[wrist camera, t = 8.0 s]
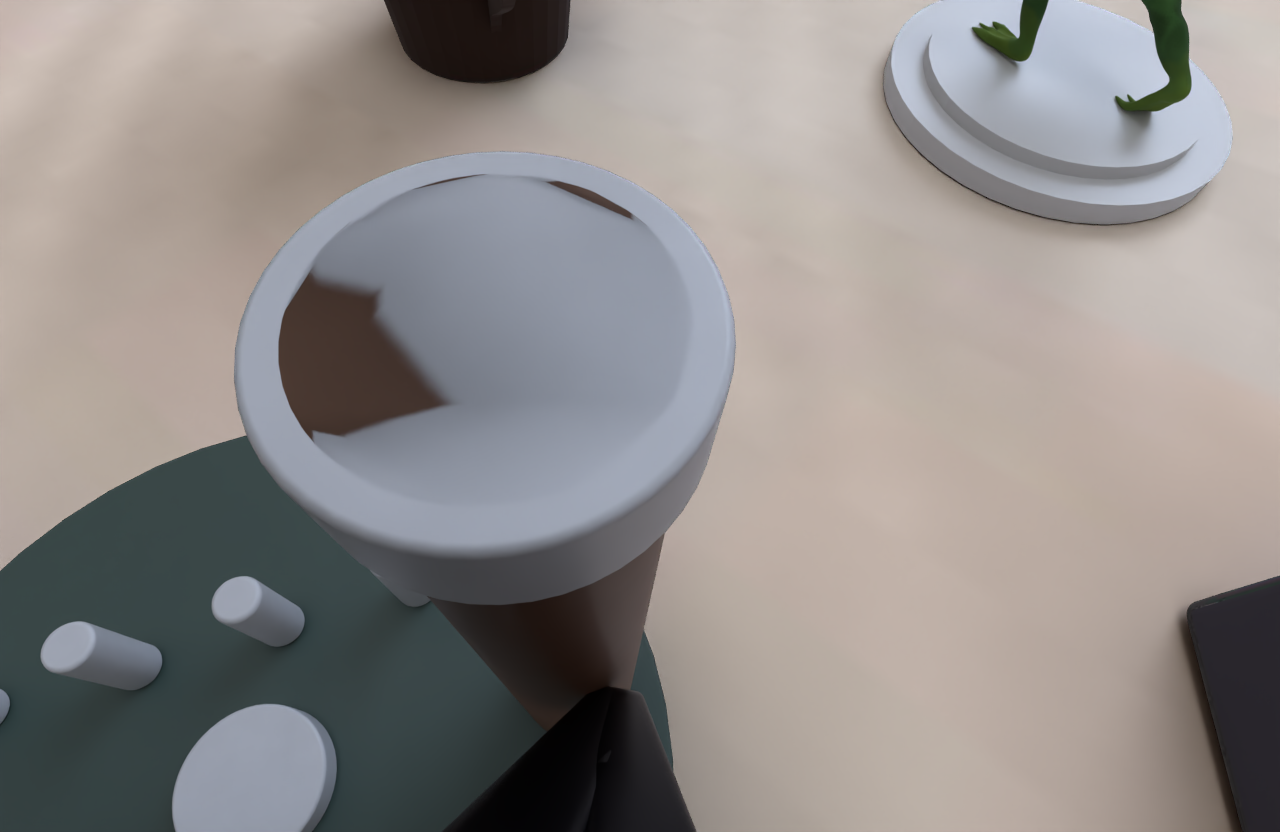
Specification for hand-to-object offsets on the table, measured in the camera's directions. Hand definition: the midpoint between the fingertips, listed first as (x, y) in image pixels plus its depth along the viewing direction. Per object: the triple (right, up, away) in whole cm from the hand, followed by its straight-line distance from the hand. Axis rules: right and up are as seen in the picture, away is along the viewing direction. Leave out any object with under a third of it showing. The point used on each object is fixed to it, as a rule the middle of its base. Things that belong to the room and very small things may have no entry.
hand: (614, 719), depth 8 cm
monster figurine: (+15, +15, +18) cm, 28 cm away
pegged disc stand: (-6, -3, +4) cm, 8 cm away
